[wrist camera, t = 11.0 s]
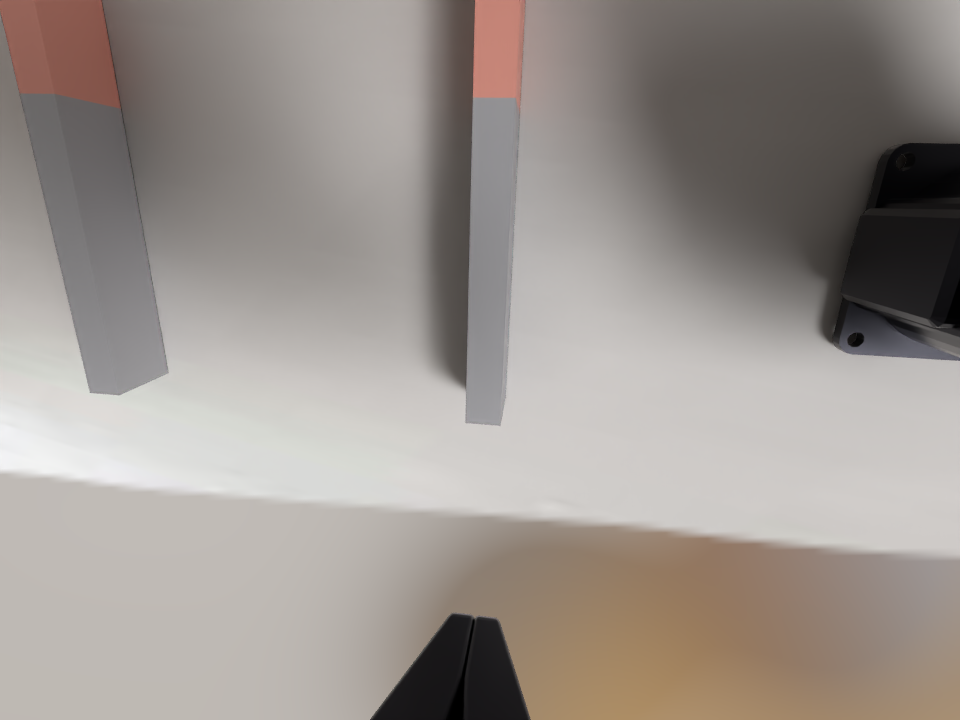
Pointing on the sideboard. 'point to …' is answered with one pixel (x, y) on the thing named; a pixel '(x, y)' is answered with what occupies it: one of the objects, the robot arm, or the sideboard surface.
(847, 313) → the robot arm
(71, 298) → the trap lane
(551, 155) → the sideboard surface
